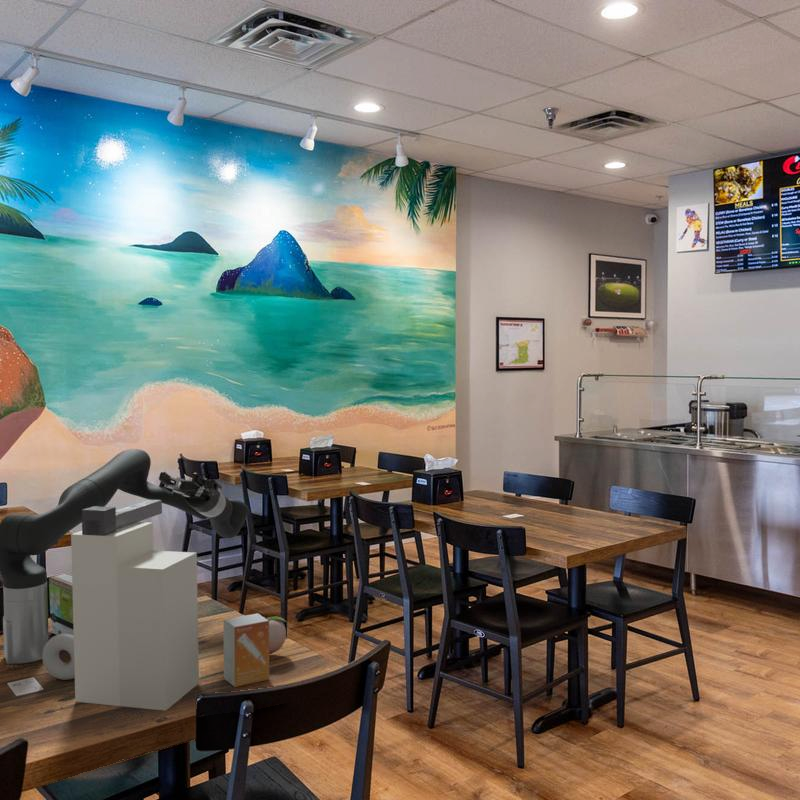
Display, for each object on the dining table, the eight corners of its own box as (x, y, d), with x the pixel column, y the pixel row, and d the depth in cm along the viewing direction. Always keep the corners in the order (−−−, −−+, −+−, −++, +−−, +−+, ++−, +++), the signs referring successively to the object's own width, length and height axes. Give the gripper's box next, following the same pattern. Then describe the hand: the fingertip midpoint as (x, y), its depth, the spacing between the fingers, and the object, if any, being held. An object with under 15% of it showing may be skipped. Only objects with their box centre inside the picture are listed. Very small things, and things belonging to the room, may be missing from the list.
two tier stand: (114, 675, 179) (111, 520, 177) (199, 683, 174) (196, 524, 173) (75, 701, 165) (71, 534, 164) (165, 710, 161) (162, 538, 159)
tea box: (49, 634, 206) (47, 575, 206) (86, 624, 214) (85, 568, 213) (79, 647, 197) (77, 586, 196) (117, 636, 204) (116, 577, 204)
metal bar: (145, 512, 186) (145, 490, 186) (165, 513, 185) (165, 491, 185) (82, 534, 163) (81, 509, 163) (104, 535, 162) (104, 510, 162)
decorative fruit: (253, 666, 184) (253, 622, 183) (242, 654, 191) (241, 612, 191) (293, 658, 188) (292, 615, 188) (280, 647, 196) (280, 606, 195)
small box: (234, 688, 172) (233, 626, 171) (223, 678, 177) (222, 618, 176) (270, 679, 176) (269, 620, 175) (258, 670, 181) (257, 612, 181)
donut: (39, 681, 176) (38, 635, 175) (48, 675, 179) (47, 630, 179) (83, 683, 175) (82, 637, 174) (91, 677, 178) (90, 632, 177)
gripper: (228, 514, 206) (201, 492, 192) (177, 511, 209) (146, 489, 195) (234, 485, 209) (208, 462, 195) (184, 483, 212) (154, 460, 198)
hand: (177, 476), depth 195 cm, fingers open, 8 cm apart
